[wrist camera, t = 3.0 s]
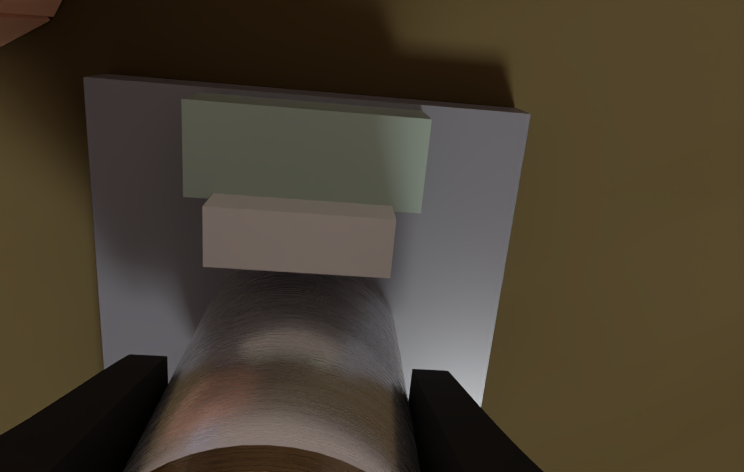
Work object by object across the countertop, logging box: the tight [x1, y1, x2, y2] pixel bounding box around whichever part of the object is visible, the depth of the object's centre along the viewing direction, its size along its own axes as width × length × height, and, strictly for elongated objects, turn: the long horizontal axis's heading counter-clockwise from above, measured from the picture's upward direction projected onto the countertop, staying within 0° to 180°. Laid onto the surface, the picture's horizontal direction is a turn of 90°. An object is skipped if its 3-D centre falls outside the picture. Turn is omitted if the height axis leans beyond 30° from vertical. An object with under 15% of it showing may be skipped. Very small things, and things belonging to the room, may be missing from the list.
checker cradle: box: [83, 74, 531, 407], centre depth 11 cm, size 8×10×3 cm
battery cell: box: [123, 269, 420, 472], centre depth 9 cm, size 4×4×7 cm
